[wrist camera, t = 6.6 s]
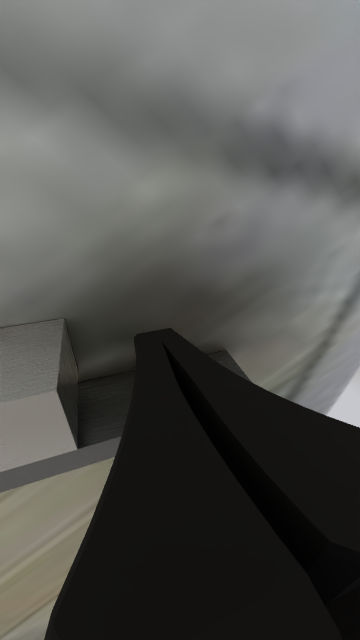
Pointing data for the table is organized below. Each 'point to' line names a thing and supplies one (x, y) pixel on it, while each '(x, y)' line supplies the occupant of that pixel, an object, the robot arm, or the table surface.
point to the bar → (37, 393)
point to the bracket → (94, 426)
